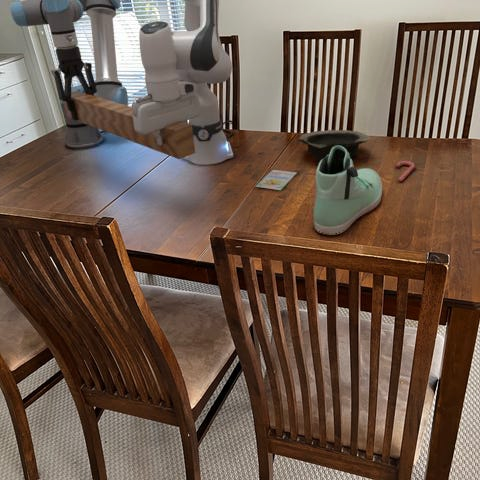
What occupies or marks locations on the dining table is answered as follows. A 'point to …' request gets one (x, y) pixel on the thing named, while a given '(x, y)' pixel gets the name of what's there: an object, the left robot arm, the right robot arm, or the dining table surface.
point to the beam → (131, 125)
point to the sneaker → (343, 192)
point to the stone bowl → (333, 142)
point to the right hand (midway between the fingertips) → (171, 140)
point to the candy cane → (406, 170)
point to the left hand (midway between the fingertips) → (83, 117)
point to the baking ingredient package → (276, 179)
